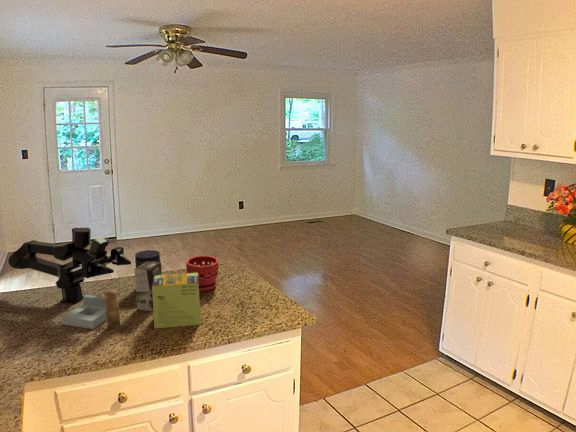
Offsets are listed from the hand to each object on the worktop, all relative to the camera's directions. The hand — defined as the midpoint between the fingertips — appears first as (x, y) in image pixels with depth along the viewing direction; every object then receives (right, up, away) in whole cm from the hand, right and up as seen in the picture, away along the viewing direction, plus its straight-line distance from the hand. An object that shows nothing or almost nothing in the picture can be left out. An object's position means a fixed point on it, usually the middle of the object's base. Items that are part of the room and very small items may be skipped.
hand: (122, 267), depth 160 cm
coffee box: (+8, -16, +8) cm, 19 cm away
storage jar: (+2, -12, +24) cm, 27 cm away
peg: (+1, -19, -10) cm, 22 cm away
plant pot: (+24, -12, +25) cm, 37 cm away
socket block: (-10, -18, -4) cm, 21 cm away
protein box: (+21, -18, -4) cm, 28 cm away
